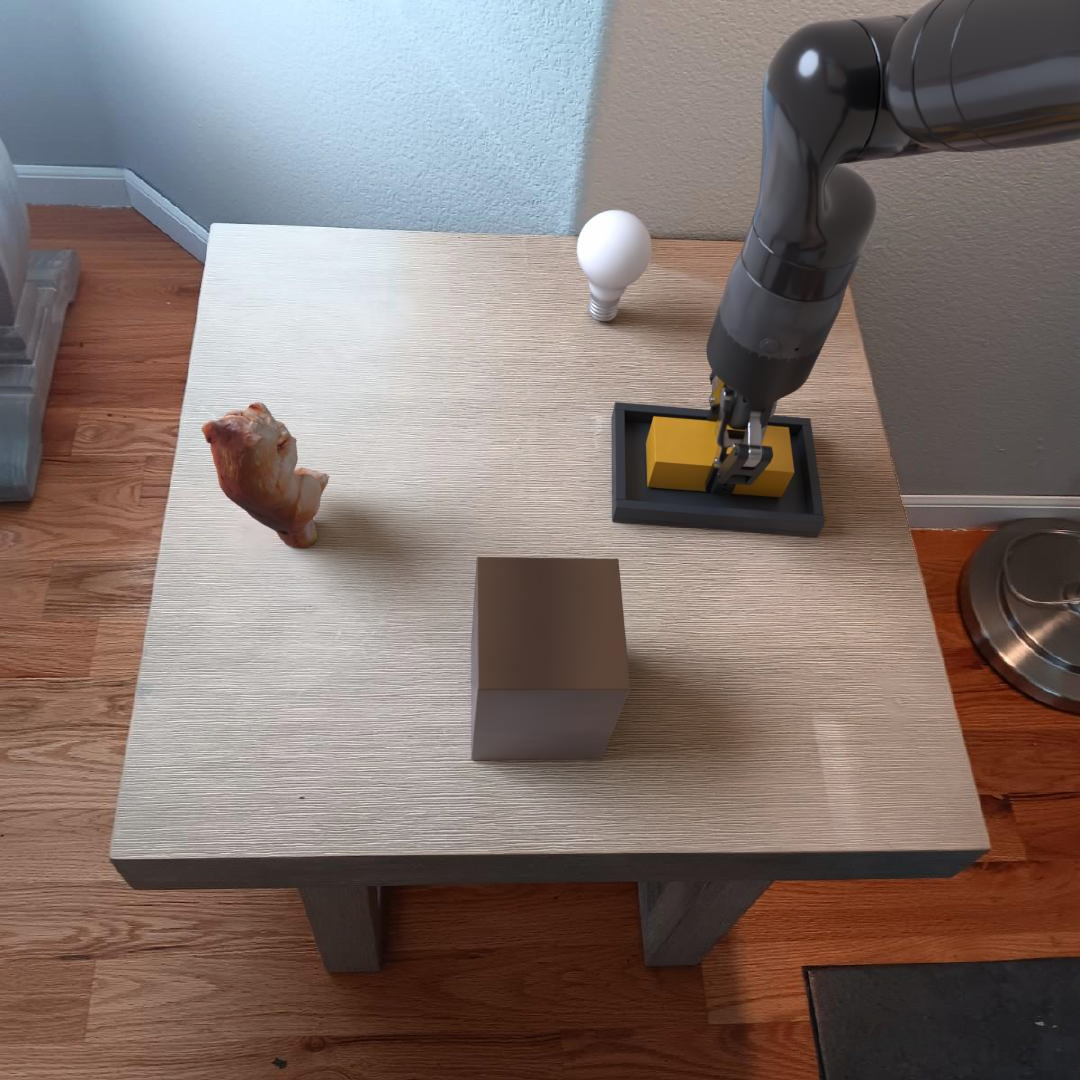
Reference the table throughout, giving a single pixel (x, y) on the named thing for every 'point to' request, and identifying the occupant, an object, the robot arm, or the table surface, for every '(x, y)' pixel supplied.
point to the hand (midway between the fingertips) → (715, 463)
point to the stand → (546, 658)
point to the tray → (702, 509)
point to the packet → (709, 457)
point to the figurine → (266, 473)
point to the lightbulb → (612, 258)
